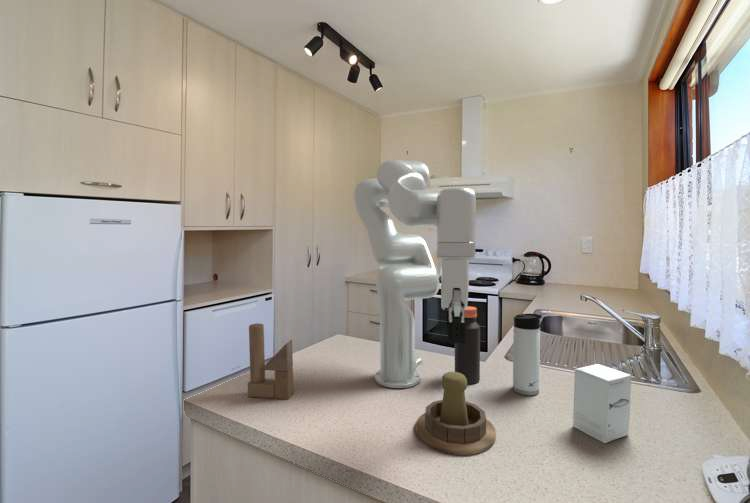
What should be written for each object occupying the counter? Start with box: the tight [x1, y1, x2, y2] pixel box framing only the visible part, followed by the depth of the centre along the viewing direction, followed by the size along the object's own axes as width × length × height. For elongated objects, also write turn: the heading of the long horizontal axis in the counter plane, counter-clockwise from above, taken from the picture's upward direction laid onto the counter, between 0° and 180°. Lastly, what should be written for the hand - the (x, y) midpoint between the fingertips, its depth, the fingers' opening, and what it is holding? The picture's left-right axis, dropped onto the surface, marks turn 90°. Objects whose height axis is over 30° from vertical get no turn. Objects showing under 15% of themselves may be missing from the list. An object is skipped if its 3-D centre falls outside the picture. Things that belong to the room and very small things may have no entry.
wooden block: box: [247, 323, 294, 400], centre depth 94 cm, size 4×11×18 cm, turn 82°
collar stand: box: [415, 399, 497, 456], centre depth 77 cm, size 16×16×4 cm
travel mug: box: [512, 313, 543, 397], centre depth 95 cm, size 6×7×20 cm
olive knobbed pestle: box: [440, 371, 469, 426], centre depth 77 cm, size 6×6×11 cm
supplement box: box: [572, 363, 632, 444], centre depth 76 cm, size 7×7×13 cm
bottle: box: [454, 305, 481, 385], centre depth 103 cm, size 7×7×20 cm
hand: (455, 335), depth 76 cm, fingers open, 9 cm apart
